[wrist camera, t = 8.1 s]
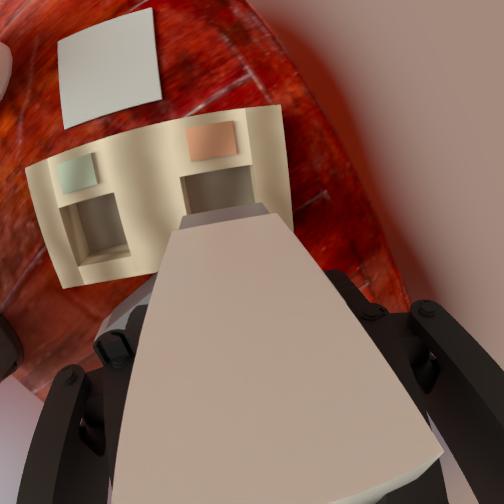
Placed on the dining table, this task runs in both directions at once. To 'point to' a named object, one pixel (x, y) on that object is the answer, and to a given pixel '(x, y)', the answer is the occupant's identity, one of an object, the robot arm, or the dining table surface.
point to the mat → (108, 68)
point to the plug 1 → (128, 307)
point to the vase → (5, 68)
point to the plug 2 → (259, 380)
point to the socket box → (154, 189)
